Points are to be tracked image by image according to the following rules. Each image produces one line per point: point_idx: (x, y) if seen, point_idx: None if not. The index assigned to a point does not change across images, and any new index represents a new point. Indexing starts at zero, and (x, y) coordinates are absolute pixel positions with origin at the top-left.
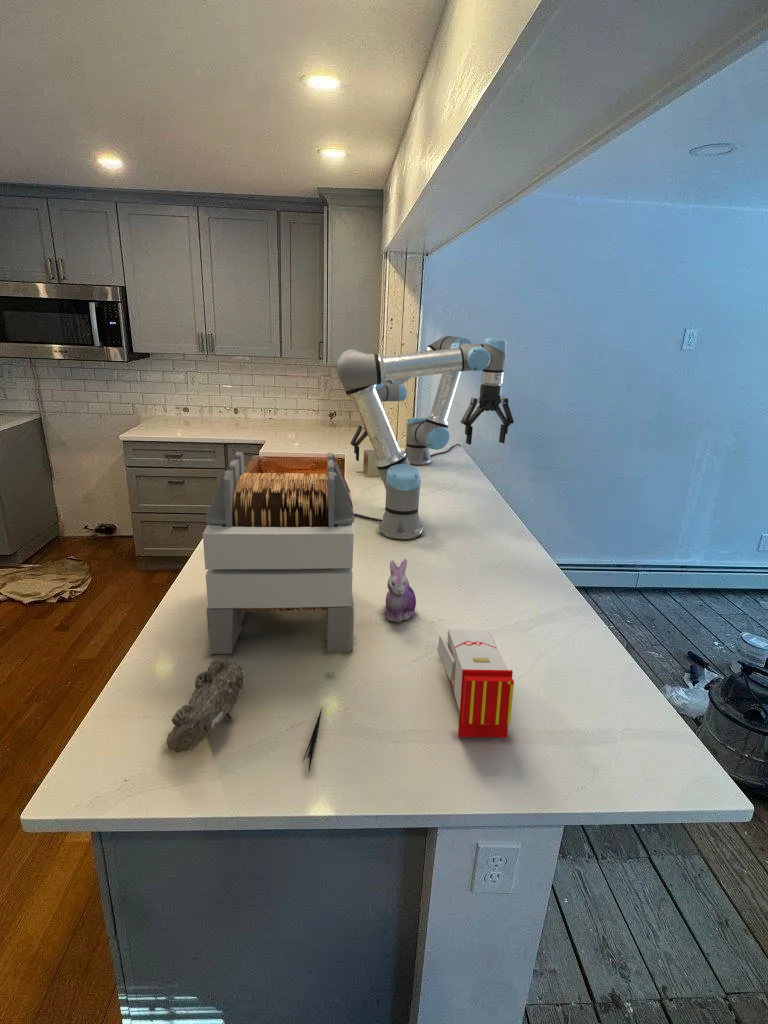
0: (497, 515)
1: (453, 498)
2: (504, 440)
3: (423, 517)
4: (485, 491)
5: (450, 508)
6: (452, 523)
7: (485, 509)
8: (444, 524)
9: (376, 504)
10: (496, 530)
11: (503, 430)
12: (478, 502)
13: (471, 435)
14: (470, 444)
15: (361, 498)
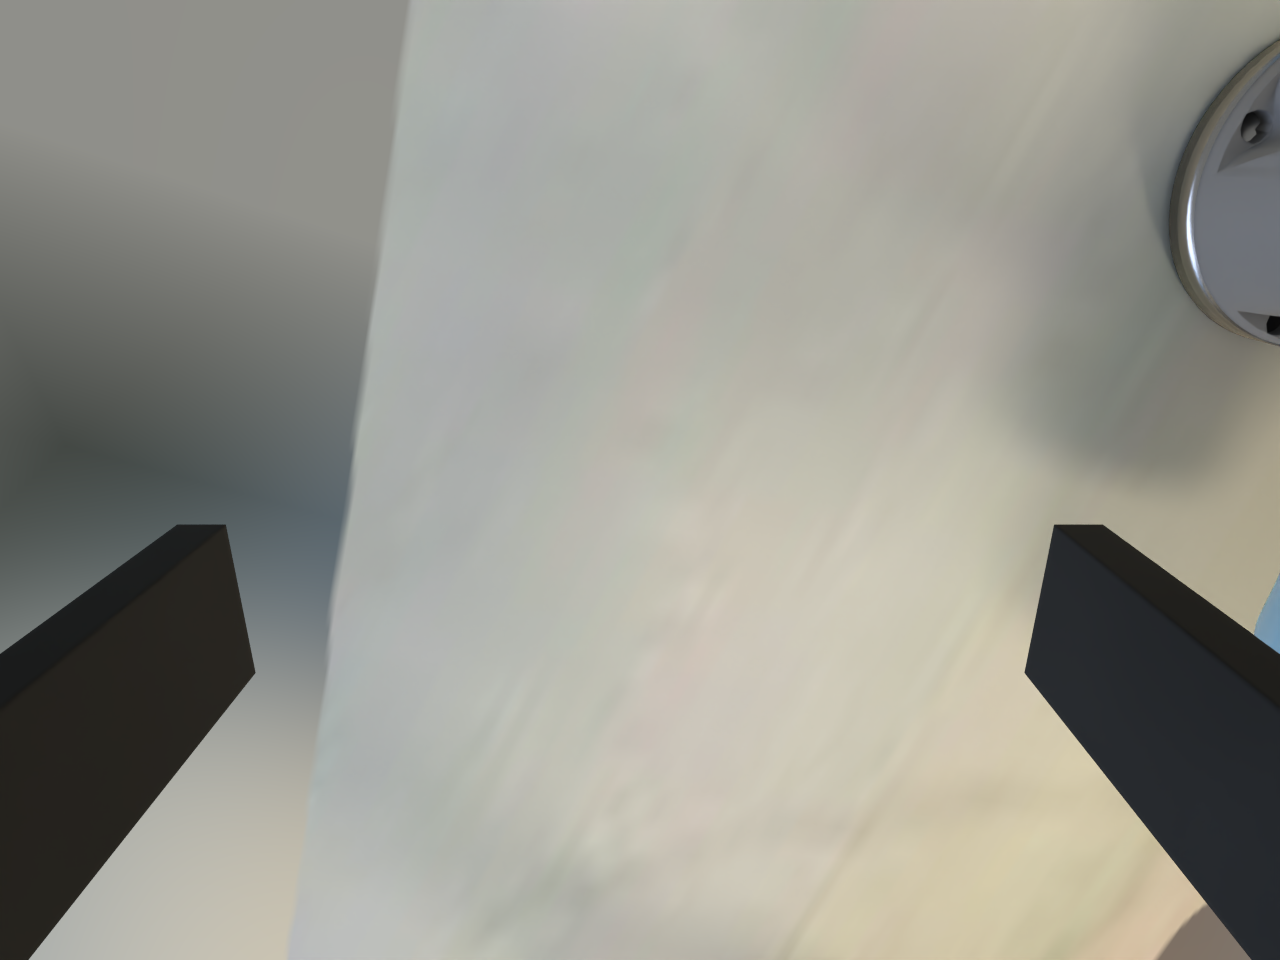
0: (447, 364)
1: (611, 723)
2: (144, 553)
3: (999, 434)
4: (331, 803)
5: (724, 558)
6: (860, 279)
7: (483, 495)
8: (928, 272)
9: None
10: (600, 58)
11: (3, 753)
12: (472, 628)
13: (1209, 641)
14: (1068, 526)
15: None
